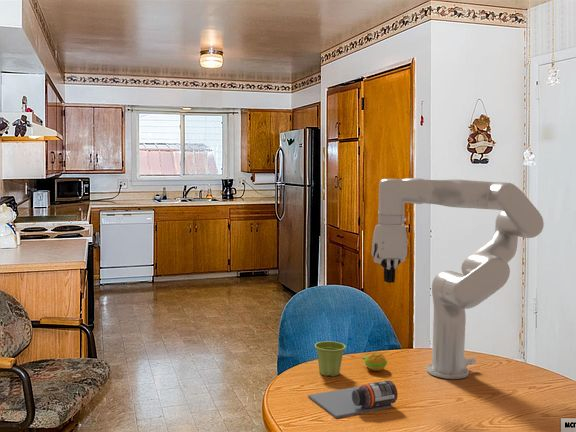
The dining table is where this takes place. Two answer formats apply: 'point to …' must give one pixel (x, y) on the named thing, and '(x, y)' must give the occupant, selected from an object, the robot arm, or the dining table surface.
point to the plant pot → (329, 357)
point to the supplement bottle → (375, 394)
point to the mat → (342, 403)
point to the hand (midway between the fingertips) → (389, 281)
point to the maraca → (375, 361)
